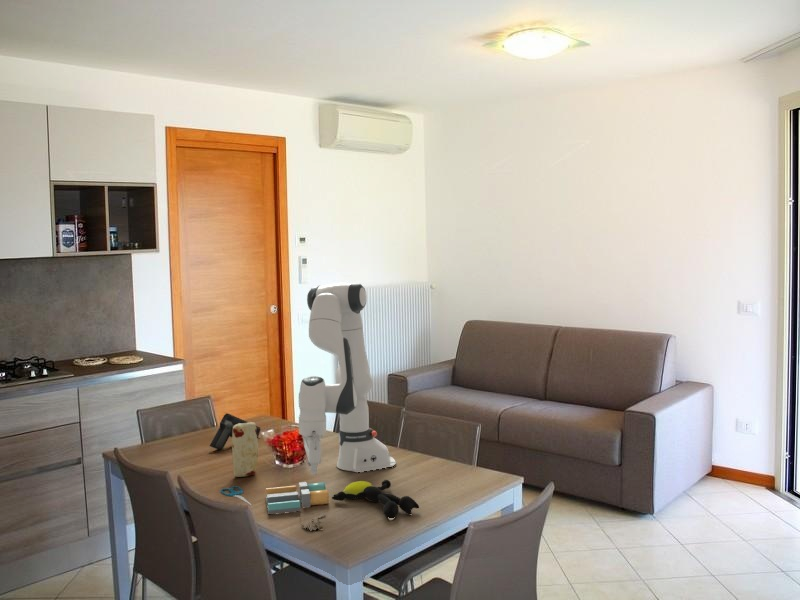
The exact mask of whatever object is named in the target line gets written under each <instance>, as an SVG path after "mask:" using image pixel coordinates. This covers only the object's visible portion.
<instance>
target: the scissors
mask: <svg viewBox="0 0 800 600" xmlns="http://www.w3.org/2000/svg"><path fill="white" fill-rule="evenodd" d="M234 489H238V490H239V491H236V490H234ZM223 490H225V491H228V490H229V493H226V492H224V491H223ZM220 493H221V494H222V495H224V496H227V497H234V498H238V499H239V500H240V501H241V500H242V501H244V502H245V503H246V504H249V505H250V506H253V504H251V502H249V501H248V500H247V499H246V498H245V497H243V496H242V495H243V493H244V491H243V488H241V487H240V486H237V485H236V486H231V487H230V488H226V487H225V488H221V489H220Z"/></svg>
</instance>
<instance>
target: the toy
mask: <svg viewBox="0 0 800 600" xmlns="http://www.w3.org/2000/svg"><path fill="white" fill-rule="evenodd" d="M391 485H392V483H391V481H390V479H389V480H388V479H384V480H383V481H381V486H375V485H374V486H373V485H372V483H371V482H369V481H366V480H359V481H353V482H351V483H349V484H347V485H346V486H345V488H344V490H343V491H338V492H337V493H335V494H334V495H332V496H331V499H332V500H334V501H341V502H343V501H345V500H355V499H358V500H359V499H362V498H365V499H366V500H368V501H370V502H371V503H372V502H373V503H378V502H379V503H380V504H381V505H382V506H383V508H382V512H383V513H382V514H384V515H385V516H386V518H387V517H389V518H394V517H395V518H396V517H397V515H398V513H399V508H400V509H401V510H402V511H403V512H404V513H406V514H407V513H408V514H407V515H409V514H412V515H413V513H412V510H413V509H419V508H420V506H419V504H418V503H417V501H415V500H414V498H412V497H411V496H408V495H404V496H402V497H399V496H397V495H394V494H392V493H387V492H383V491H385V490H388V489H390V487H392V486H391Z"/></svg>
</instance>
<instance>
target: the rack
mask: <svg viewBox="0 0 800 600" xmlns="http://www.w3.org/2000/svg"><path fill="white" fill-rule="evenodd" d="M265 502H266V507H267V508H268V509H267V508H266V509H267V513H268V514H275V515H277V514H276V513H284V514H286V513H285V512H294V513H296V512H295V511H300V512H301V500H300V499H299V491H297V485H289V486H288V485H287V486H279V487H269V488H268V487H267V488H265Z"/></svg>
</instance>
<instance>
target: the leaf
mask: <svg viewBox="0 0 800 600" xmlns="http://www.w3.org/2000/svg"><path fill="white" fill-rule="evenodd" d="M323 516H326V510H324V512H323V515H321V517H322V518H324V517H323ZM299 519H300V520H301V519H302V518H300V517H299ZM317 521H319V522H320V519H319V520H318V519H317ZM317 521H312V520H311V523H312V522H313V525H312V528H311V526H310V524H311V523H310V521H308V524H306V526H305V523H301V528H302V527H304V528H305V530H308V529H309V528H310V529H311V530H310V532H313V531H312V530H316V529H317V528H318V529H323V530H324V526H321V527H319V526H318V523H319V522H317ZM309 523H310V524H309ZM319 524H320V523H319ZM306 528H307V529H306Z"/></svg>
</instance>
